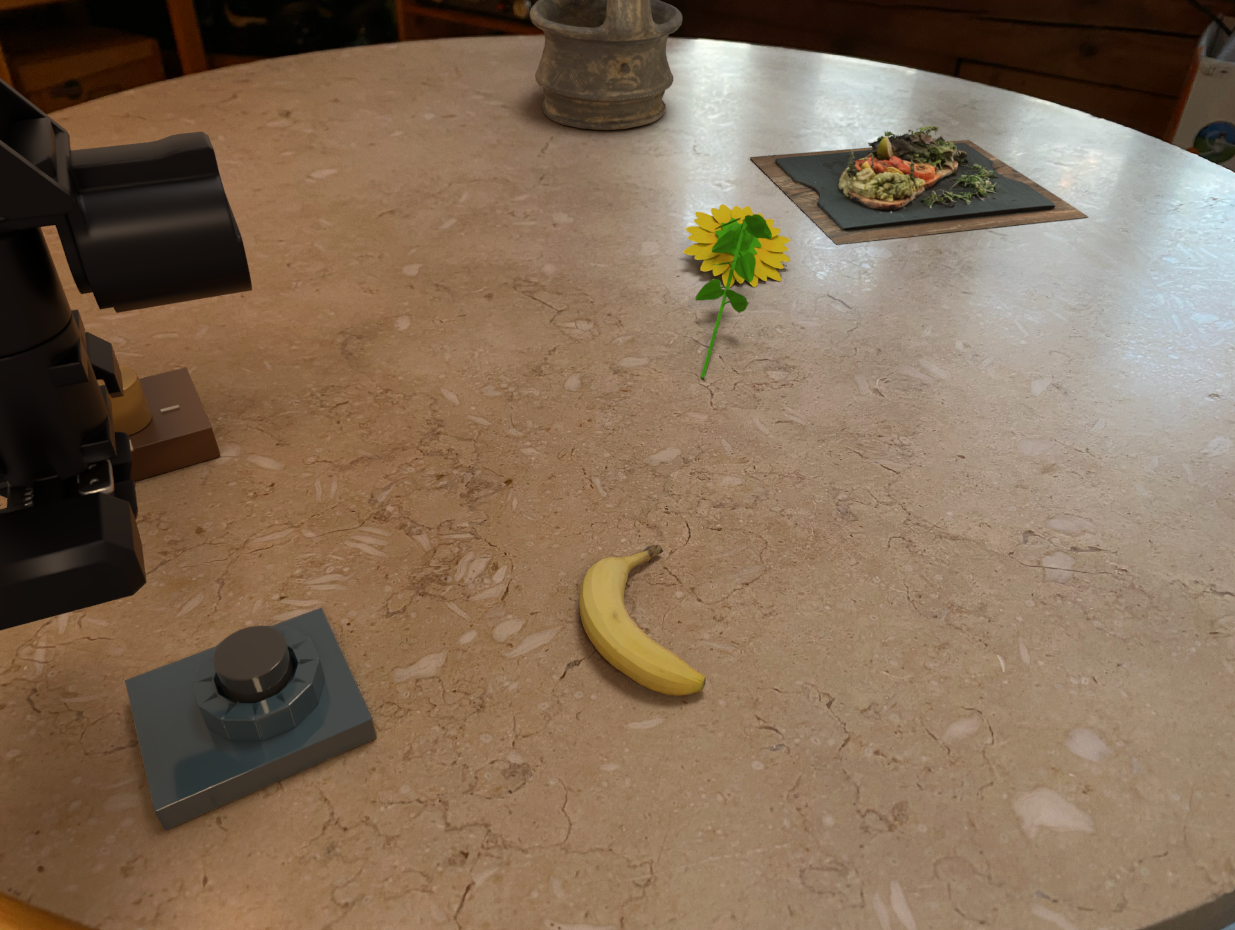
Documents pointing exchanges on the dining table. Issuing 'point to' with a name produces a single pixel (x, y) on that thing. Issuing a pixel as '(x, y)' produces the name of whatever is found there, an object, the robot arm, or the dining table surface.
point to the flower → (735, 254)
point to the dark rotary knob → (253, 664)
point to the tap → (130, 404)
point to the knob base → (244, 724)
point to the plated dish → (910, 189)
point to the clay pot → (604, 61)
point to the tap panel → (171, 427)
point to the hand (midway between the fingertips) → (107, 587)
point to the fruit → (630, 630)
